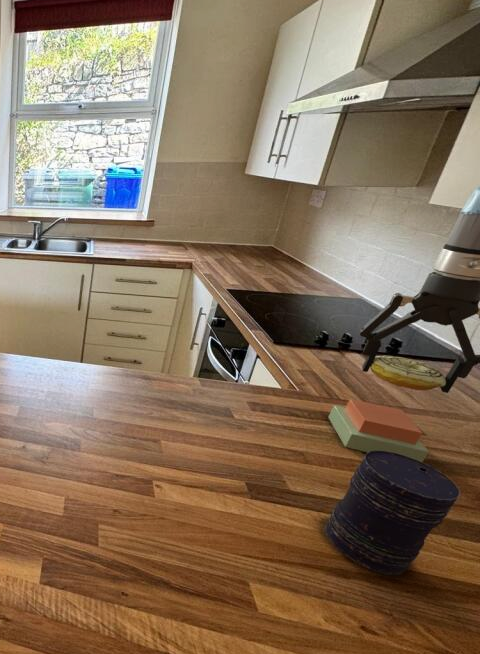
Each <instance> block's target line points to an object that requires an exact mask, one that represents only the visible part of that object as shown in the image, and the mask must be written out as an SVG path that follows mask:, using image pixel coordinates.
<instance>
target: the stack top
mask: <svg viewBox="0 0 480 654" xmlns="http://www.w3.org/2000/svg"><path fill="white" fill-rule="evenodd" d="M345 407H346V408H345V412H346V413H347V415H348V416H349V418H350V419H351V421H352V422H353V424H354V425H355V427H356V428H357V430H358V431H359V432H362V433H366V434H370V435H375V436H379V437H383V438H388V439H392V440H396V441H401V442H405V443H409V444H414V445H416V443H417V441H418V440H419V441H420V438H421V436H422V435H423V432H422V430H421V429H420V427H418V426H417V425H416V424H415V423H414V421H413V420H411V418H410V417H409V415H408V414H407V413H406V412H405V411H404V410H403V409H400V408H395V407H390V406H385V405H380V404H376V403H372V402H366V401H361V400H356V399H351V398H349V399H348V402H347V403H346V406H345Z"/></svg>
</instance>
